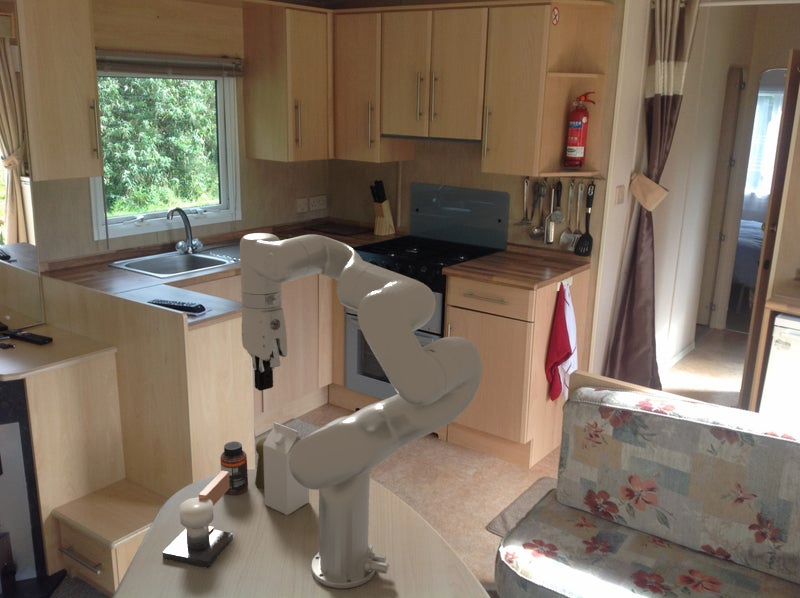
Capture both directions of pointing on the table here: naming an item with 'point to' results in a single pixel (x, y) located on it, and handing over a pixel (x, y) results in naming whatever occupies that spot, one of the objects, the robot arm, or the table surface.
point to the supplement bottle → (235, 467)
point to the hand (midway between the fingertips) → (264, 387)
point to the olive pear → (260, 464)
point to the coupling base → (198, 554)
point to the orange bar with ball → (204, 503)
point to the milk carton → (282, 472)
